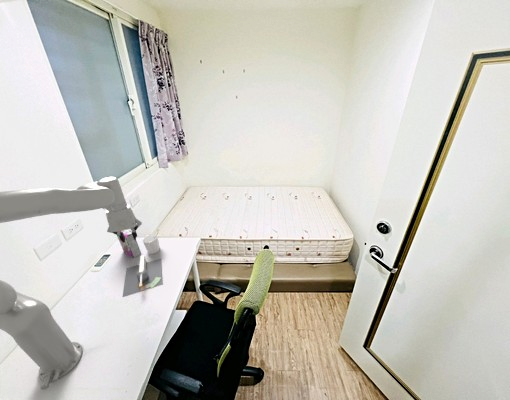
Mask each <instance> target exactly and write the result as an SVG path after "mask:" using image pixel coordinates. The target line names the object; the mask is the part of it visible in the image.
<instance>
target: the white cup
mask: <svg viewBox="0 0 510 400" xmlns="http://www.w3.org/2000/svg"><path fill="white" fill-rule="evenodd" d="M142 242H143V244H144V247H145V250H146V251H147V253H148V254H149V255H153V254H156V253H157V252H159V251H160V249H161V247H160V242H159V238H158V235H157V234H155V233H152V234H148V235H146V236H144V237H143V238H142Z"/></svg>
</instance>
